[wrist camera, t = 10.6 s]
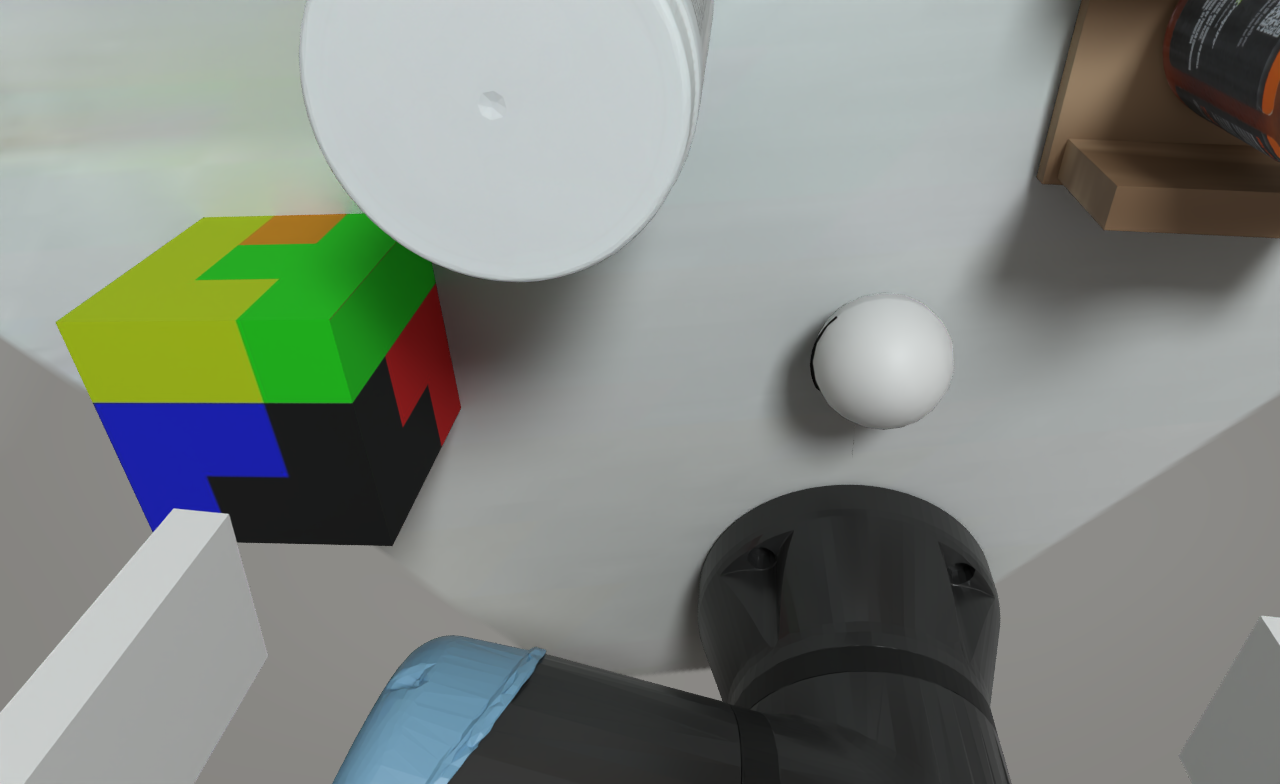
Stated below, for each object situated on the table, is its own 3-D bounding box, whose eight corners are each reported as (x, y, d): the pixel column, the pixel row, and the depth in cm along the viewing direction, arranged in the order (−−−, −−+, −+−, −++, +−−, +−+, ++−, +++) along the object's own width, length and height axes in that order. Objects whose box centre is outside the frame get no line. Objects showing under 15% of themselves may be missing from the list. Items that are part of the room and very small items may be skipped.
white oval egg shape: (840, 250, 37) (854, 312, 32) (965, 295, 37) (997, 362, 33) (769, 395, 41) (772, 468, 36) (882, 433, 41) (900, 510, 37)
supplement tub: (443, -154, 31) (236, -143, 18) (720, -161, 30) (699, -156, 17) (477, 129, 36) (334, 286, 23) (713, 130, 35) (694, 295, 22)
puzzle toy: (268, 406, 44) (156, 540, 36) (204, 217, 39) (55, 322, 31) (461, 407, 43) (392, 545, 35) (421, 211, 38) (329, 319, 30)
